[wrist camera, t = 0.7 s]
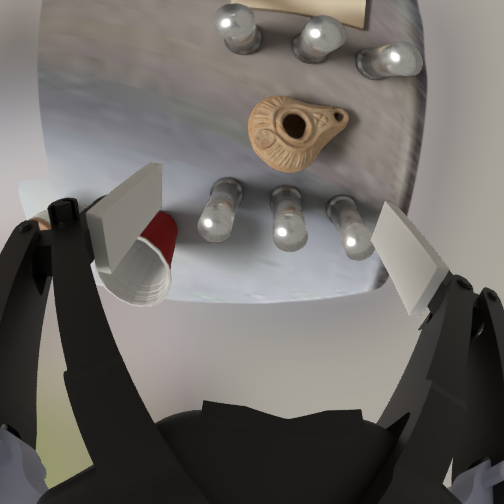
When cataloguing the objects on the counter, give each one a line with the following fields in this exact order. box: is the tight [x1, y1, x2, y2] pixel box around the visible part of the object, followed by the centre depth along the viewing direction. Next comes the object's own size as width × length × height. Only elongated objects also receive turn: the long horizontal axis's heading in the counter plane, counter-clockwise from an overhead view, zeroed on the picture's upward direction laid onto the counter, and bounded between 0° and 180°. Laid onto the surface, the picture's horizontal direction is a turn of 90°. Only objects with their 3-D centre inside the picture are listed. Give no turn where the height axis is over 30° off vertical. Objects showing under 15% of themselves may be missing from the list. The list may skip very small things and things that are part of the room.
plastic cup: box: [93, 211, 177, 307], centre depth 35 cm, size 11×11×12 cm
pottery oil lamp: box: [248, 96, 349, 173], centre depth 28 cm, size 9×12×7 cm
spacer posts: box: [198, 3, 423, 261], centre depth 27 cm, size 25×20×10 cm
